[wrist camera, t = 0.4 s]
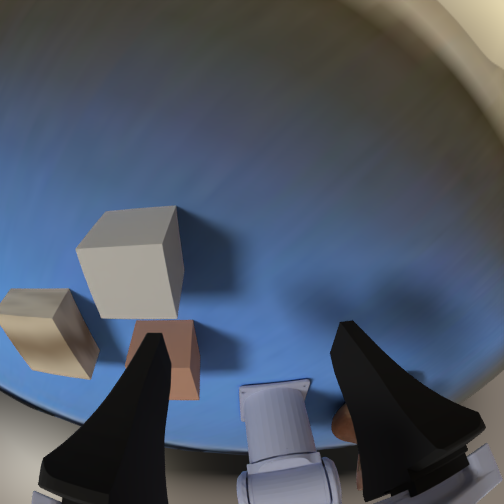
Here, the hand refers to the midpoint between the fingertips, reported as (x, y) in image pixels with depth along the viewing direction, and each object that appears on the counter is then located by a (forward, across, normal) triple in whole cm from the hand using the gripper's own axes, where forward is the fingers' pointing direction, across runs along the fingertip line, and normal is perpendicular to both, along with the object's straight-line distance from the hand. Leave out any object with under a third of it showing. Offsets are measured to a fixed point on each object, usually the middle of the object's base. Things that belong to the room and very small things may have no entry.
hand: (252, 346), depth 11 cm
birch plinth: (+10, +18, +8) cm, 22 cm away
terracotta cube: (+10, +6, +10) cm, 15 cm away
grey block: (+9, +6, 0) cm, 11 cm away
